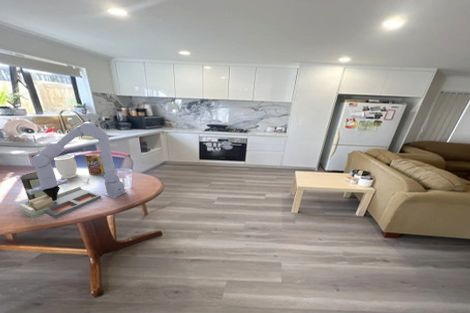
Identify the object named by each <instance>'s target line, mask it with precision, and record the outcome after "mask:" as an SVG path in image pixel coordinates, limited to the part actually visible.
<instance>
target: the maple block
mask: <svg viewBox="0 0 470 313" xmlns="http://www.w3.org/2000/svg"><path fill="white" fill-rule="evenodd" d="M28 204H30V206H31V208H33V209H34V210H37V211H39V210H41V209H44V208H46V207H49V206H51V205H54V204H53V201H52V198H51V197H48V196H46V195H44V196H41V197H38V198H35V199H32V200H30V201H29V200H28Z"/></svg>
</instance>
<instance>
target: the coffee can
mask: <svg viewBox="0 0 470 313" xmlns="http://www.w3.org/2000/svg"><path fill="white" fill-rule="evenodd" d="M19 179H20V181H21V183H22V186H23V189H24V191H25V193H26V196H27V199H28V202H29V201H30V200H32V199H35V198H38V197H41V196H44V195H46V196H48V195H47V194H46V193H44V192H43V191H40V192H37V193H34V194H32V195H30V194H29V192H28V190H31V189H34V188H36V187H38V186H41V185H40V182H39V179H38V176H37V173H36V171H34V172H29V173H26V174H23V175H21V176H20V177H19ZM48 197H49V196H48Z"/></svg>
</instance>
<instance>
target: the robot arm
mask: <svg viewBox="0 0 470 313" xmlns="http://www.w3.org/2000/svg"><path fill="white" fill-rule="evenodd" d="M82 136H88V137H92V138H94V139H96V140H98V145H99V148H100V154H101V156H102V161H103V166H104V172H105V173H104V174H103V181H104V186H105V191H106V192H104V193H103V195H104V196H106V197H110V198H112V199H115V198H117V197H119V196H122V195H123V194H125V193H127V190H126V189H125V184H124V183H123V181H121V180H120V177H119V176H118V170H117V168H116V167H115V164H114V160H113V154H112V153H113V152H112V150H111V144H110V143H111V142H110V139H109V138H110V137H109V135H108V133H107V132H106V131H105V130H104V129H103V128H102V127H101V126H100V125H99V124H97V123H95V122H93V121H90V120H88V121H84V122H83V123H81V124H80V125H78V126H76V127H74V128H72V129H71V130H70V131H69V132H67V133H66V134H65V135H64V136H63V137H61V138H60V139H59V141H54V142H53V141H52V142H51V143H47V144H45V148H43V149H41V150H39V151H37V154H36V155H34V156H32V157H31V159H30V164H31V166H33V167H34V168H35V172H36V173H37V176H38V179H39V182H40V185H41V186H38V187H36V188H34V189H31V190H28V192H29V194H30V195H32V194H34V193H37V192H40V191H43V192H44V193H46V194H47V195H48V196H49V197H51V198H52V201H56V200H57V194H58V193H59V191H60V190H61V189H60V188H61V187H59V186H62V185H64V184H69V178H67V179H60V180H57V177H56V173H55V171H54V167H53V166H52V160H54V158H55V157H59V155H60V154H62V153H63V152H64V151H65V146H67V145H68V144H69V143H70V142H72V140H74V139H76V138H77V137H82Z"/></svg>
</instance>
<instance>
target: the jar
mask: <svg viewBox="0 0 470 313" xmlns="http://www.w3.org/2000/svg"><path fill="white" fill-rule="evenodd" d="M53 160H54V162H55V163H54V164H55V168H56V171H57V172H58V174H59V175H60V176H61V177H60V178H61V180H64V179H71V178H72V179H73V178H75V177H76V176H78V173H77V162H76V159H75V155H74V154H67V155H66V154H65V155H60V156H59V155H58V156H57V157H55V158H54V159H53Z"/></svg>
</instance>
